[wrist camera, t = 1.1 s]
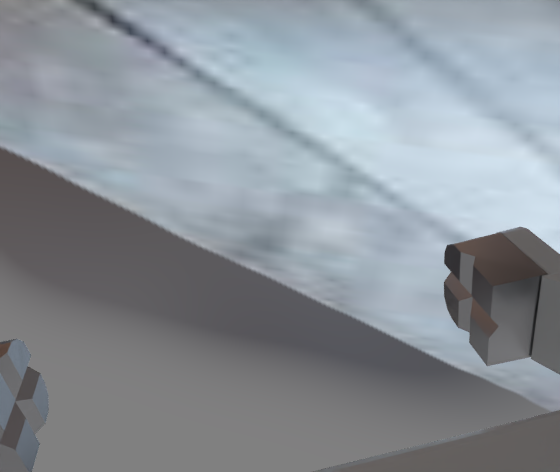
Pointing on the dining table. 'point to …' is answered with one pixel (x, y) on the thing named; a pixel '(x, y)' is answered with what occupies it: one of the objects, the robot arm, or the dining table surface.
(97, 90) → the dining table surface
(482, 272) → the robot arm
